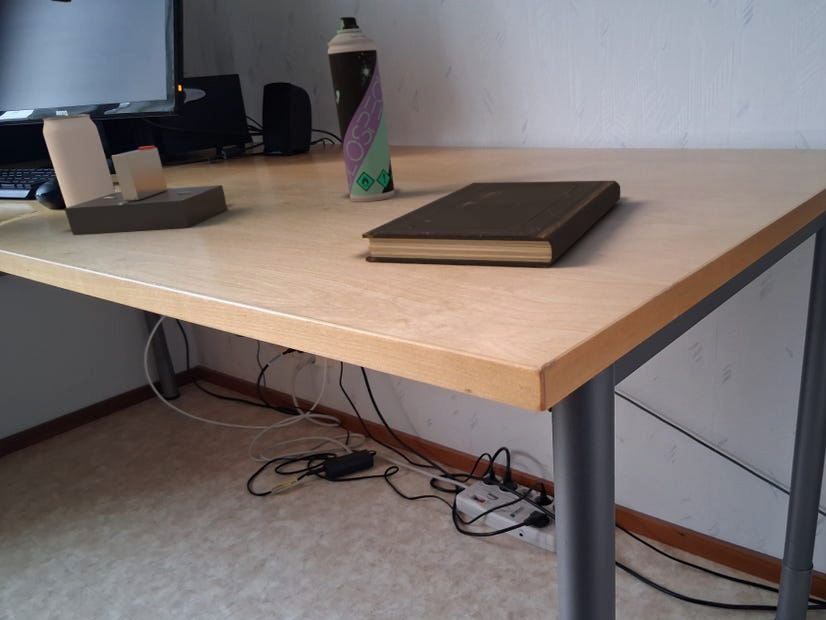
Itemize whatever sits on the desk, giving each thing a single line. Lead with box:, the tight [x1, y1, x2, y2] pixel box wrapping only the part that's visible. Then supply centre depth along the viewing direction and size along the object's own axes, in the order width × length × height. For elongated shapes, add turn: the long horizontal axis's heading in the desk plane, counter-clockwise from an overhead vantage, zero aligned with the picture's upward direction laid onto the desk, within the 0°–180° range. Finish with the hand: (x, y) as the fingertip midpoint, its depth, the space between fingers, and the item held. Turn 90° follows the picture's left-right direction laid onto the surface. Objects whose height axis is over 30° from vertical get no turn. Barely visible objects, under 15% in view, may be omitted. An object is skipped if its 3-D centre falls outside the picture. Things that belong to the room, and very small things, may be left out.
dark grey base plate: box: [64, 184, 228, 236], centre depth 82 cm, size 14×11×3 cm
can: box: [42, 114, 116, 208], centre depth 95 cm, size 6×6×12 cm
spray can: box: [327, 16, 396, 203], centre depth 82 cm, size 6×6×20 cm
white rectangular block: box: [111, 145, 168, 201], centre depth 80 cm, size 6×2×5 cm, turn 174°
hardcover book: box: [361, 180, 621, 268], centre depth 63 cm, size 16×23×2 cm
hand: (21, 5), depth 79 cm, fingers open, 9 cm apart
